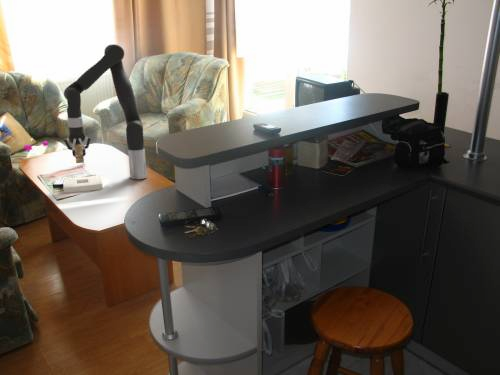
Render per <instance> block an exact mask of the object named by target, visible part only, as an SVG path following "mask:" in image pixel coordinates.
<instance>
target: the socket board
mask: <svg viewBox="0 0 500 375" xmlns="http://www.w3.org/2000/svg"><path fill="white" fill-rule="evenodd" d="M103 187H104V186H103V182H102V177H101V174H99V175H90V176H89V175H88V176H81V177H80V176H79V177H69V178H67V177H66V178H63V186H62V189H63V194H67V193H78V192H88V191H95V190H96V191H97V190H98V191H99V190H103Z"/></svg>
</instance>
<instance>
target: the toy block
mask: <svg viewBox="0 0 500 375" xmlns="http://www.w3.org/2000/svg"><path fill="white" fill-rule="evenodd" d="M49 145H50V143H49V142H48V141H42V146H44V147H47V146H49ZM23 147H24V150H26V151H30V150H33V148H32V146H31V145H30V144H24V146H23Z"/></svg>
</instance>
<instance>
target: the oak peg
mask: <svg viewBox="0 0 500 375" xmlns="http://www.w3.org/2000/svg"><path fill="white" fill-rule="evenodd" d="M74 149H75V157H74V158H75V162H76V163H75V164H84V163H85V158H84V157H85V156H83V148H82V145H81V144H75V145H74Z"/></svg>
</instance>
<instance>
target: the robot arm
mask: <svg viewBox="0 0 500 375" xmlns="http://www.w3.org/2000/svg"><path fill="white" fill-rule="evenodd" d="M124 58H125V50H124V47H122V46H121V45H118V44H114V43H113V44H109V45H107V46H106V47H105V49H104V55H103V56H102V57H101V58H100V59H99V60H98V61H97V62H96V63H94V64H93V65H92V66H90V68H88V69H87V70H86V71H84V73H82V74H81V75H80V76H79V77H78V78H77V80H75V81H74V82H72V83H71V84H70V85H68V86H67V87H66V88H65V89H64V92H63V97H64V98H65V99H66V102H67V108H66V113H67V114H66V115H67V127H68V135H69V136H68V137H67V138H64V140H63V141H64V143H65V145H66V147H67V149H68V150H69V151H71V153H72V156H73V157H74V158H76V157H75V148H74V145H75V144H81V145H82V148H83V157H85V156H86V154H87V152H86V149H89V146H90V142H91V137H90V136H86V135H85V131H84V122H83V117H82V108H81V106H82V105H81V104H82V97H81V94H82V93H83V92H85V91H87V90H88V89H89V88H90V87H92V86H93V85H94V84H96V83H95V82H97V81H98V80H99V79H100V78H101V77H102V76H104V74H105V73H106V72H107V71H108V70H110V73H111V78H112V82H113V86H114V90H115V93H116V96H117V101H118V103H119V104H120V106H121V109H122V111H123V113H124V116H125V121H126V122H125V123H126V128H125V133H126V145H127V153H128V165H129V166H128V167H129V176H130V177H129V178H131V179H132V180H142V179H147V178H148V174H147V173H148V172H147V161H146V151H145V141H144V139H145V138H144V126H143V125H144V124H143V123H142V120H141V118H140V115H139V113H138V108H137V104H136V97H135V93H134V89H133V85H132V83H131V81H130V79H129V77H128V75H127V73H126V71H125V68H124V64H123V59H124ZM84 140H85V141H86V144H84ZM70 142H71V143H72V146H71V145H70Z"/></svg>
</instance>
